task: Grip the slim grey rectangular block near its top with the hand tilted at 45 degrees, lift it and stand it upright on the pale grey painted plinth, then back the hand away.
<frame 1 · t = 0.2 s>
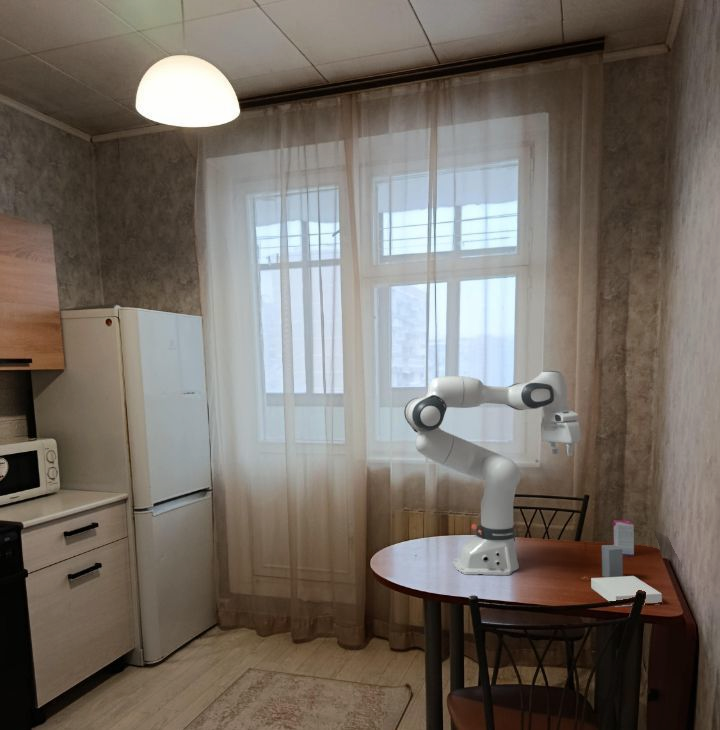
hand: (562, 454, 196), 38 cm above the table, tool pointing down, fingers open, 8 cm apart
grey rectangular block: (612, 577, 182), on the table
plinth: (625, 595, 167), on the table
supplement box: (623, 553, 205), on the table
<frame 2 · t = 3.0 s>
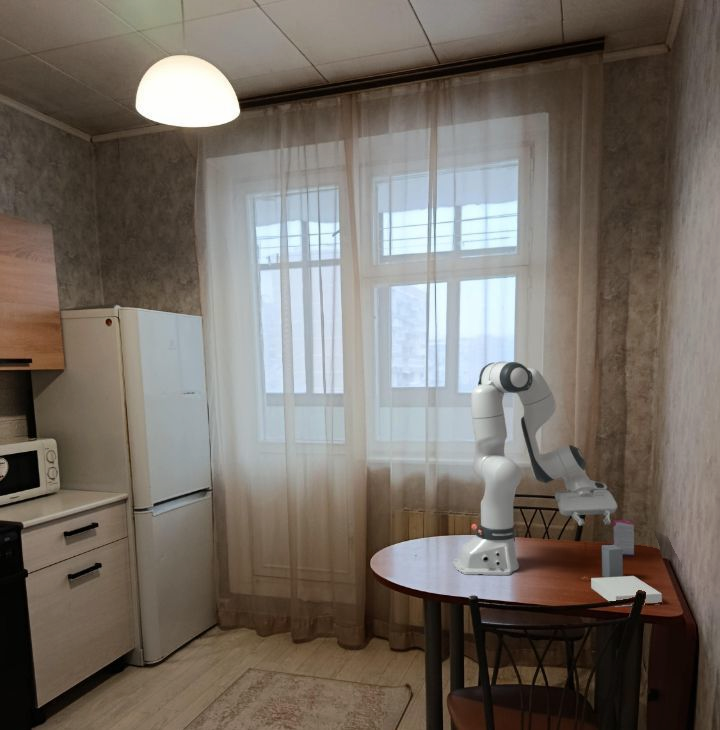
hand: (595, 524, 192), 15 cm above the table, tool tilted 45°, fingers open, 8 cm apart
nothing on the table moved.
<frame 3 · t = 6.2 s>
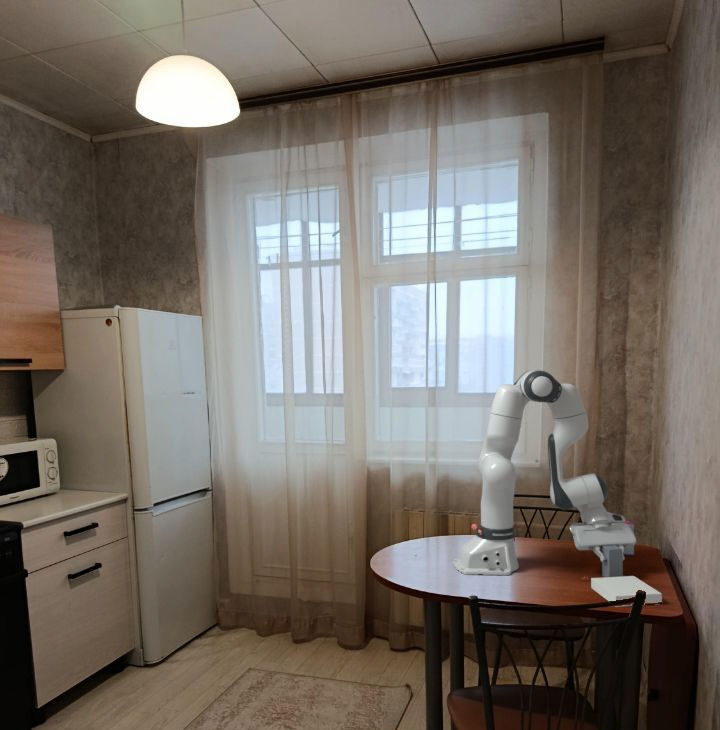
hand: (613, 560, 181), 6 cm above the table, tool tilted 45°, fingers closed on grey rectangular block, 4 cm apart
grey rectangular block: (612, 577, 182), on the table, touching gripper
everything else where it was.
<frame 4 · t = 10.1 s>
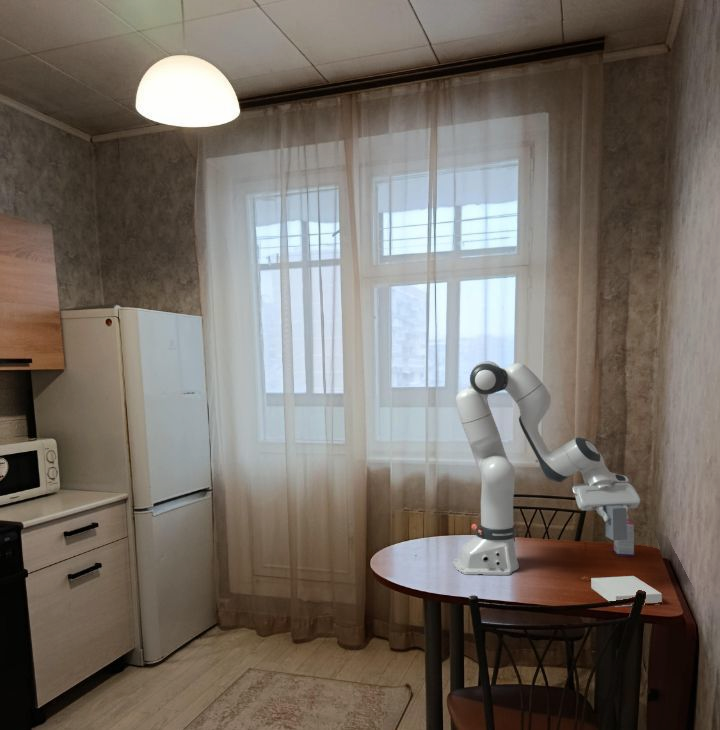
hand: (616, 519, 176), 20 cm above the table, tool tilted 45°, fingers closed on grey rectangular block, 4 cm apart
grey rectangular block: (616, 537, 177), point 14 cm above the table, touching gripper
everything else where it was.
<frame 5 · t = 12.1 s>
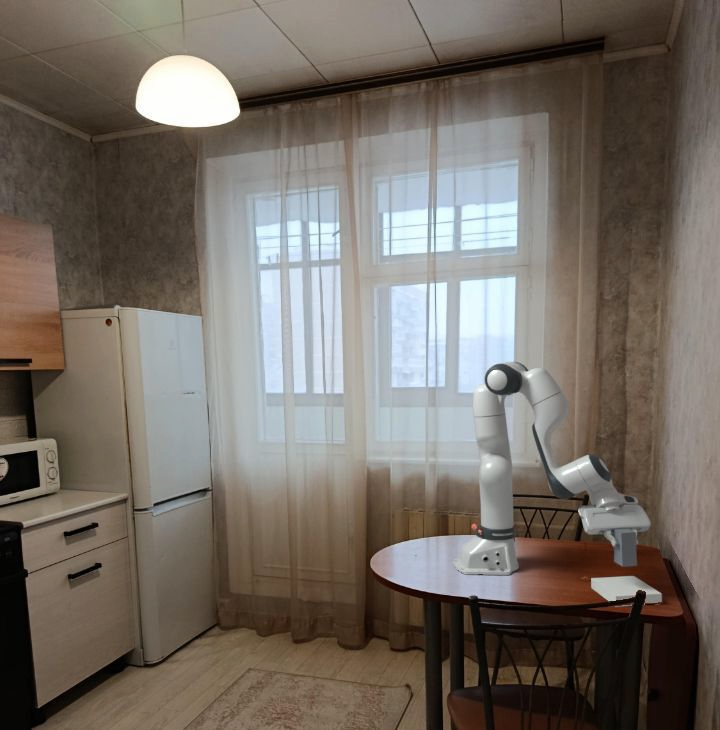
hand: (625, 544, 167), 16 cm above the table, tool tilted 45°, fingers closed on grey rectangular block, 4 cm apart
grey rectangular block: (625, 563, 167), point 10 cm above the table, touching gripper
everything else where it was.
when the fingers open (10 cm above the table, at t = 14.0 s): grey rectangular block drops 1 cm, resting on plinth.
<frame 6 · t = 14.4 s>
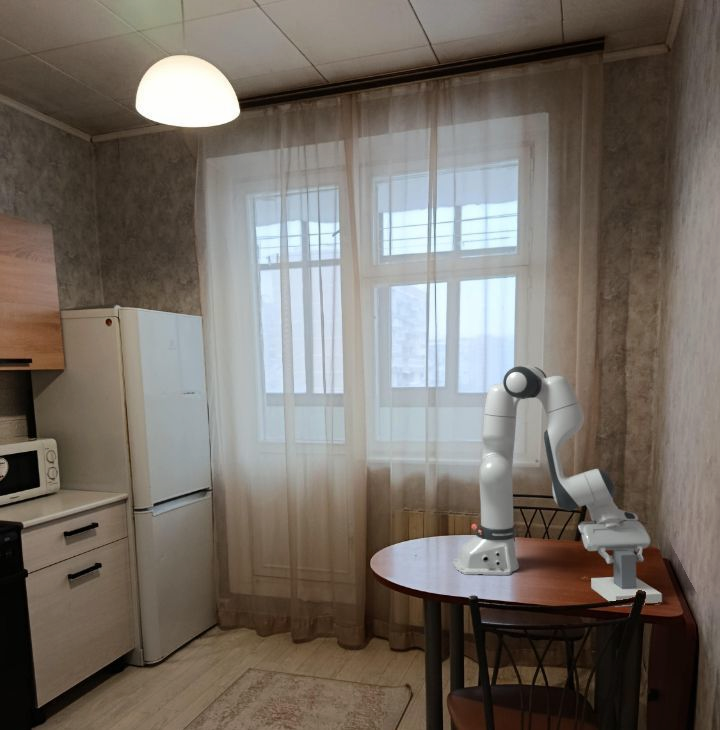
hand: (625, 561, 167), 10 cm above the table, tool tilted 45°, fingers open, 8 cm apart
grey rectangular block: (624, 585, 167), point 3 cm above the table, touching plinth
everything else where it was.
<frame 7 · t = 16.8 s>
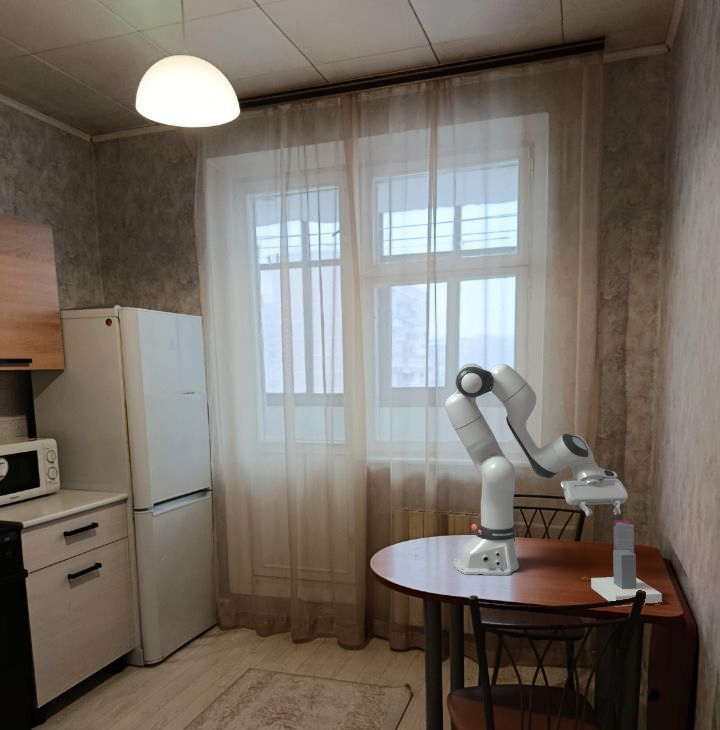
hand: (604, 514, 178), 22 cm above the table, tool tilted 45°, fingers open, 8 cm apart
nothing on the table moved.
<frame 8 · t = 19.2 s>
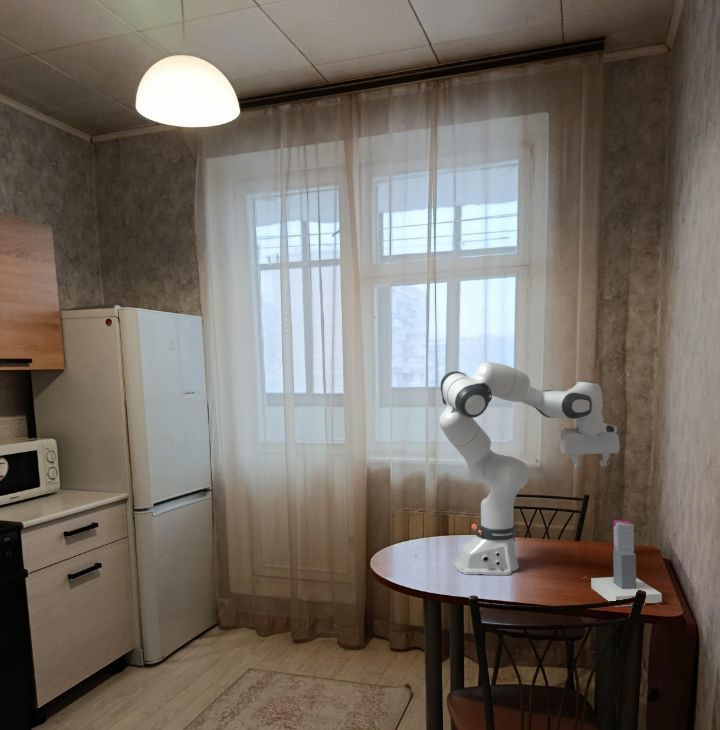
hand: (590, 466, 195), 34 cm above the table, tool pointing down, fingers open, 8 cm apart
nothing on the table moved.
at the end: grey rectangular block inside the target area on the plinth (0.0 cm from its centre), point 3.0 cm above the plinth's base; grey rectangular block tilted 0°; the gripper is holding nothing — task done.
